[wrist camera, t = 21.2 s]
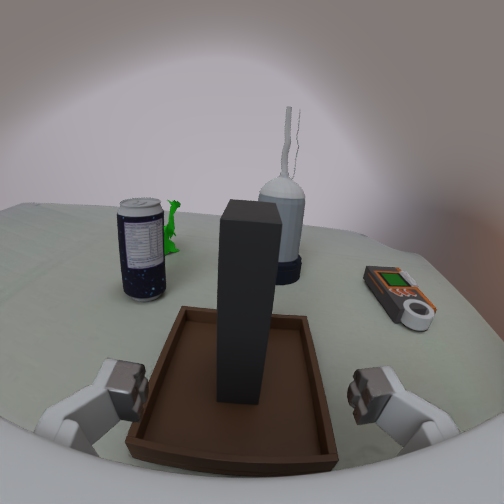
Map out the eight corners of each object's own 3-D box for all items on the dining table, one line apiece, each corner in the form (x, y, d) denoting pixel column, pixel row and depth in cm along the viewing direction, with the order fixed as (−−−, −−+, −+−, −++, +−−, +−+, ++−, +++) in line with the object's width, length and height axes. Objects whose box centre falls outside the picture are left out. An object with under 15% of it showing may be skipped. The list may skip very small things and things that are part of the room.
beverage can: (173, 287, 37) (171, 198, 33) (155, 308, 32) (149, 208, 28) (137, 280, 38) (132, 196, 34) (116, 299, 33) (107, 205, 29)
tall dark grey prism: (216, 402, 19) (220, 218, 14) (223, 354, 25) (230, 198, 20) (258, 405, 19) (282, 223, 15) (258, 357, 25) (275, 202, 20)
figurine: (197, 242, 53) (194, 196, 48) (160, 276, 43) (150, 223, 39) (171, 236, 55) (165, 192, 50) (131, 268, 45) (120, 218, 41)
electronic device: (409, 318, 29) (366, 262, 43) (401, 337, 30) (361, 279, 44) (448, 315, 29) (400, 264, 43) (439, 333, 31) (395, 280, 44)
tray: (328, 474, 14) (339, 460, 13) (132, 457, 14) (124, 441, 13) (303, 333, 30) (306, 315, 29) (182, 323, 30) (181, 305, 29)
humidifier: (267, 258, 50) (281, 111, 41) (309, 273, 45) (329, 113, 36) (236, 271, 44) (248, 102, 35) (281, 290, 39) (301, 101, 30)
